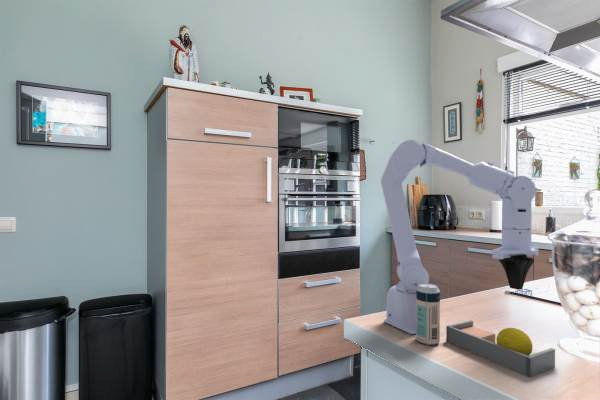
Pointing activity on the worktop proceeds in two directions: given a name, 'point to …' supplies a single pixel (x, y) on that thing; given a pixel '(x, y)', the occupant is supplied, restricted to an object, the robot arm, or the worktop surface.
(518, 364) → the fence
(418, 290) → the beer can
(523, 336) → the lemon
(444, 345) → the worktop surface
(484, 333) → the tile
